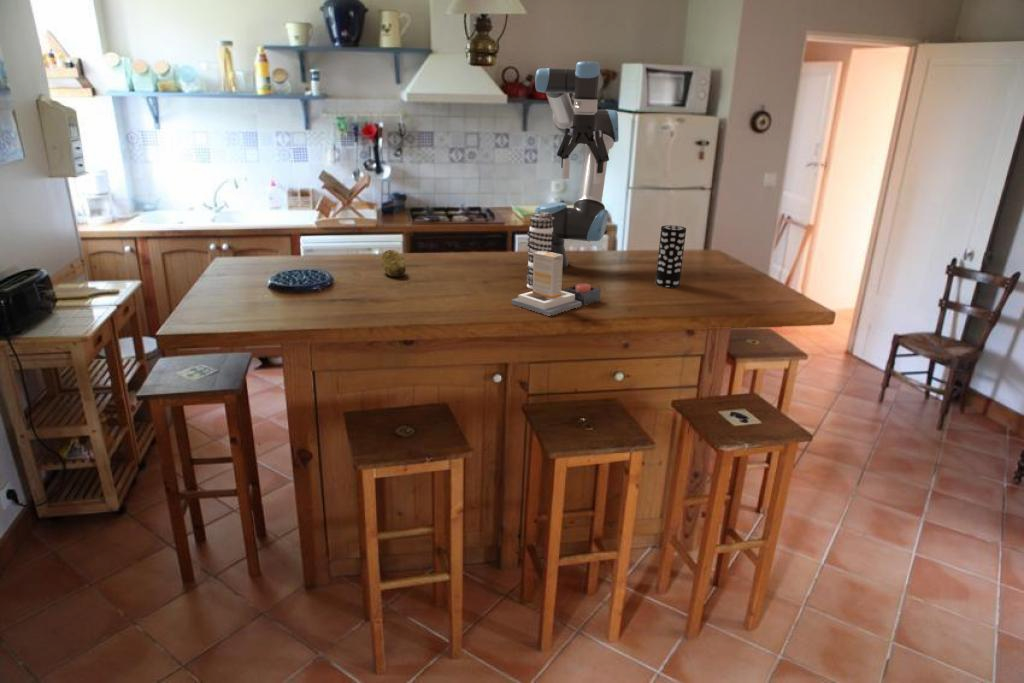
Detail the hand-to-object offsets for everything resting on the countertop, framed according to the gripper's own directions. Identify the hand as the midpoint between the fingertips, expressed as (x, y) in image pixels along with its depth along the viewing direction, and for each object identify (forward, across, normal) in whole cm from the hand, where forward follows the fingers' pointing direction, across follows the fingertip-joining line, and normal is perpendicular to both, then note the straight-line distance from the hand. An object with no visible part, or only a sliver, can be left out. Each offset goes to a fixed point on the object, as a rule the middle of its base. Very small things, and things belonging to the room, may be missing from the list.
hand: (580, 181), depth 224 cm
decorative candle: (+35, -4, -14) cm, 38 cm away
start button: (+33, +16, -15) cm, 40 cm away
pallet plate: (+35, +12, -28) cm, 46 cm away
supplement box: (+31, +12, -28) cm, 43 cm away
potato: (+35, -48, -43) cm, 73 cm away
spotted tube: (+35, +23, +23) cm, 48 cm away
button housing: (+35, +16, -15) cm, 41 cm away
